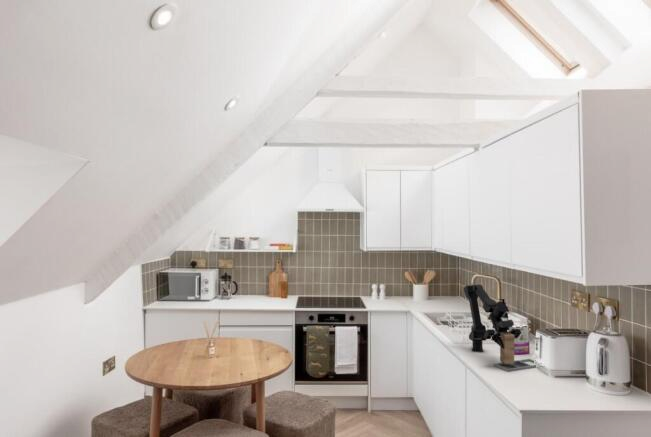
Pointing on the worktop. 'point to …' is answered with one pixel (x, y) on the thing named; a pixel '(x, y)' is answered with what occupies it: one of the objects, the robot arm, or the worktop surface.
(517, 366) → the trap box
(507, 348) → the walnut block
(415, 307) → the worktop surface
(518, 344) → the candy bar box
